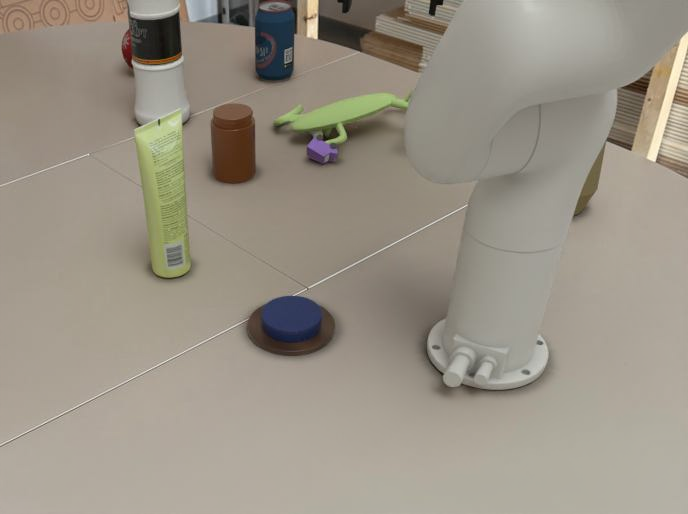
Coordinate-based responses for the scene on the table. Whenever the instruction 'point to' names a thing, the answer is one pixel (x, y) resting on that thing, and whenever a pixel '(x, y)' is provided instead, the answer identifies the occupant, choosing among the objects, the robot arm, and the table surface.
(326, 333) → the coaster
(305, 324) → the jar lid
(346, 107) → the figurine
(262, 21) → the soda can
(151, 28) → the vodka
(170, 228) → the tube
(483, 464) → the table surface
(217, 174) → the jam jar
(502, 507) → the table surface
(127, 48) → the christmas ornament
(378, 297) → the table surface
